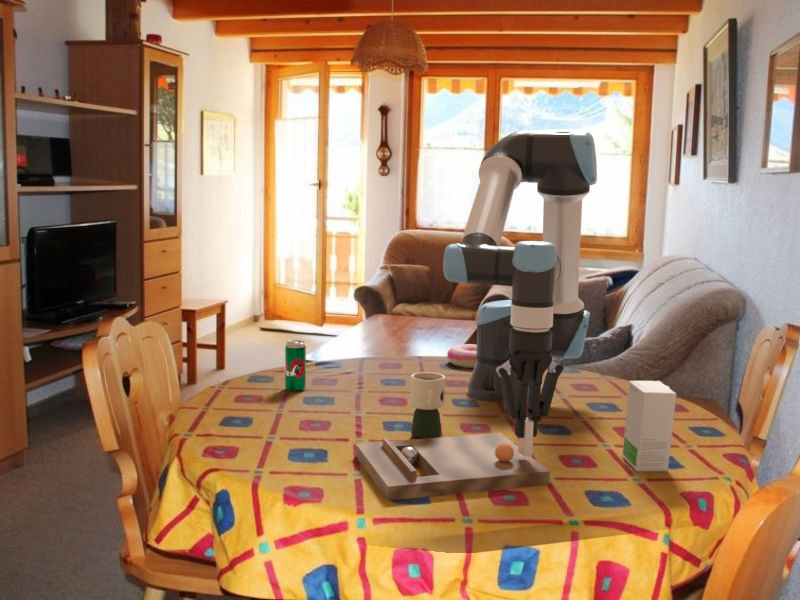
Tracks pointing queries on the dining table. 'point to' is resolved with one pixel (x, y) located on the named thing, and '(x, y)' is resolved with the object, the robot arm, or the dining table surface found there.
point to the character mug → (427, 403)
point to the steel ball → (410, 454)
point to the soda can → (295, 365)
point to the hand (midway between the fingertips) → (525, 453)
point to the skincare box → (649, 425)
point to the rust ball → (504, 452)
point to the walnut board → (448, 466)
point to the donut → (463, 355)
